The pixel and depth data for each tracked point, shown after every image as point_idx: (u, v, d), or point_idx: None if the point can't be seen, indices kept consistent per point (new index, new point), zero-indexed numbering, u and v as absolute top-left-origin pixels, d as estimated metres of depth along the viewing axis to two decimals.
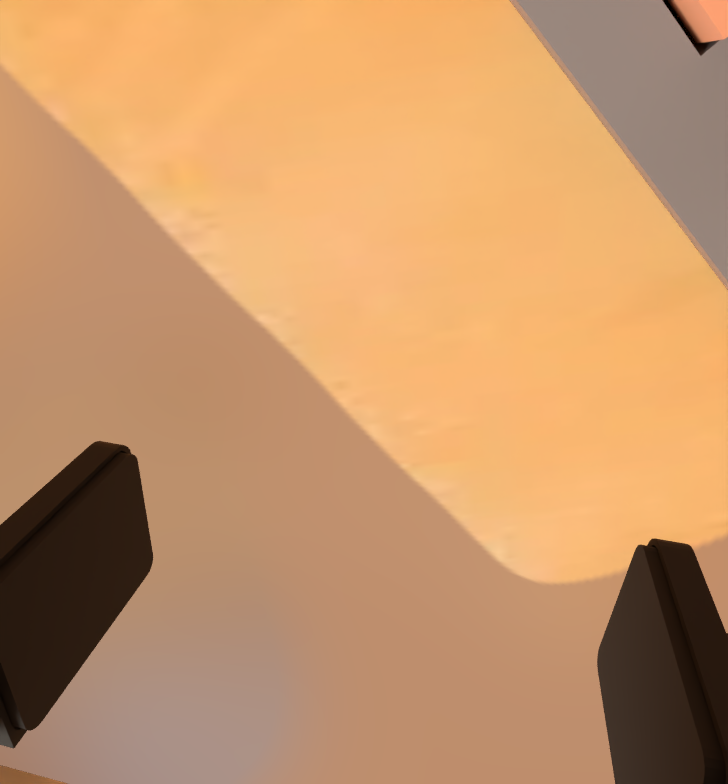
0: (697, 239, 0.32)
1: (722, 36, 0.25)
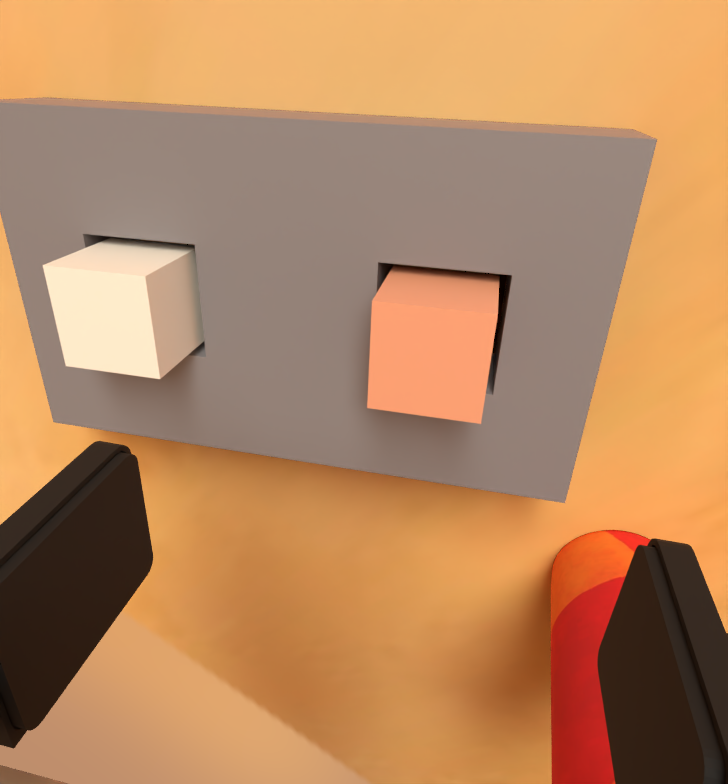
0: (173, 113, 0.21)
1: (376, 300, 0.19)
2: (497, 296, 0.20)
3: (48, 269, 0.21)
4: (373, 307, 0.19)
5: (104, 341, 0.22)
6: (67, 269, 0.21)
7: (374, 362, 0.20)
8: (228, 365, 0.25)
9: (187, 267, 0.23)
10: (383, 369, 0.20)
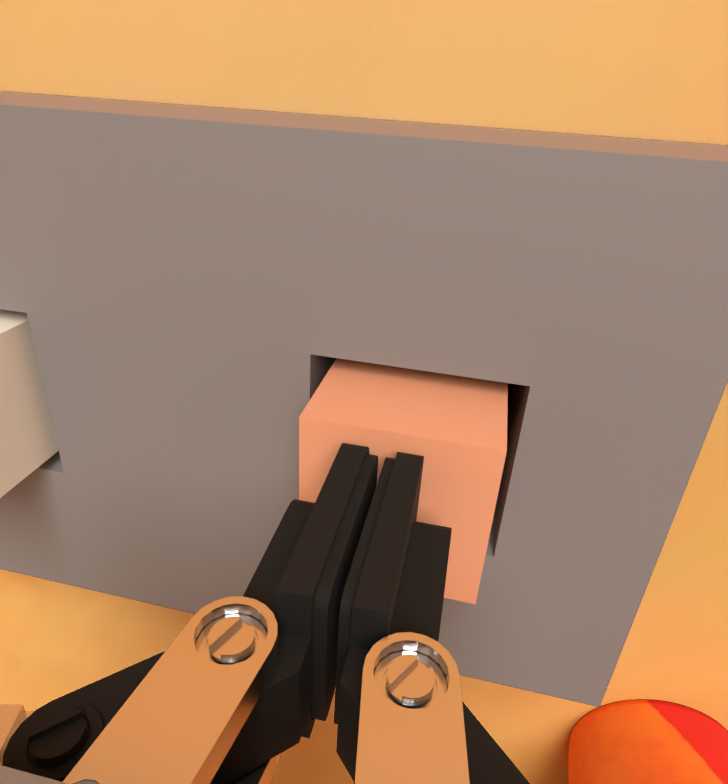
0: None
1: (306, 416, 0.12)
2: (505, 405, 0.12)
3: None
4: (301, 426, 0.12)
5: None
6: None
7: None
8: (96, 486, 0.17)
9: (20, 346, 0.15)
10: None
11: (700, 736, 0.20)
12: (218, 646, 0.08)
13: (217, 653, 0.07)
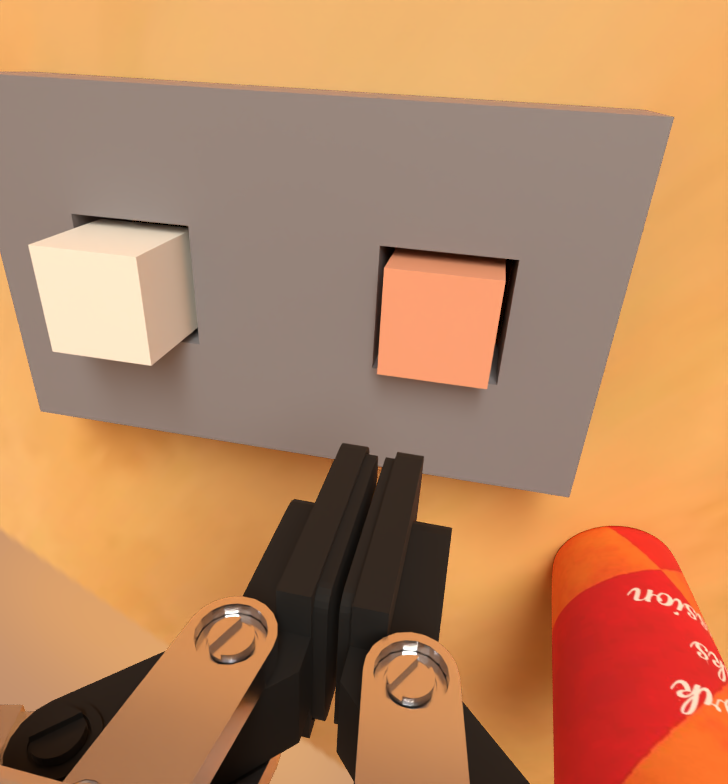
0: (166, 86, 0.20)
1: (388, 268, 0.20)
2: (504, 266, 0.21)
3: (34, 249, 0.20)
4: (385, 274, 0.20)
5: (92, 325, 0.21)
6: (54, 249, 0.20)
7: (385, 328, 0.21)
8: (222, 353, 0.24)
9: (180, 249, 0.22)
10: (393, 335, 0.21)
11: (645, 544, 0.28)
12: (218, 646, 0.08)
13: (217, 653, 0.07)
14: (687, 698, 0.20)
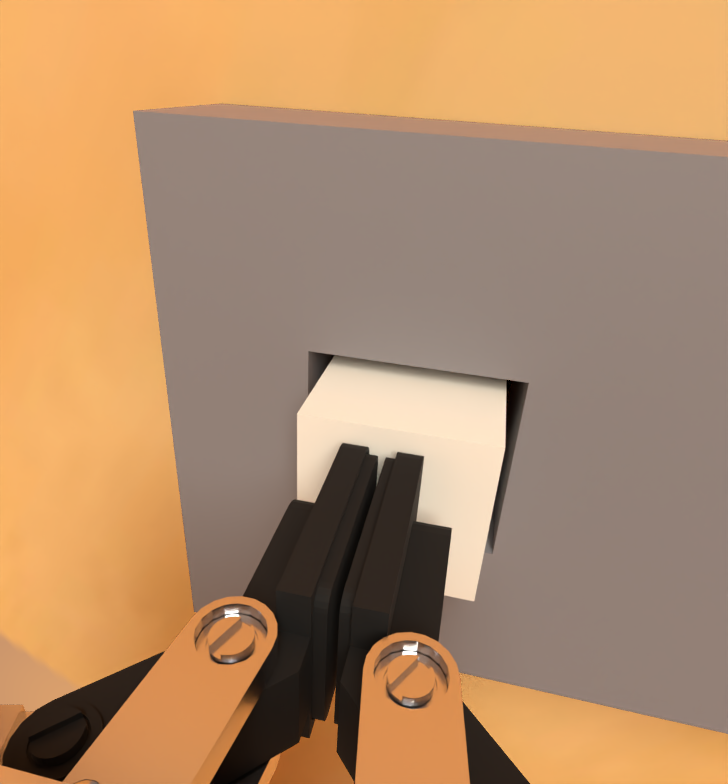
0: (560, 147, 0.10)
1: None
2: None
3: (306, 421, 0.11)
4: None
5: None
6: (346, 424, 0.11)
7: None
8: (531, 569, 0.15)
9: None
10: None
11: None
12: (218, 646, 0.08)
13: (217, 653, 0.07)
14: None
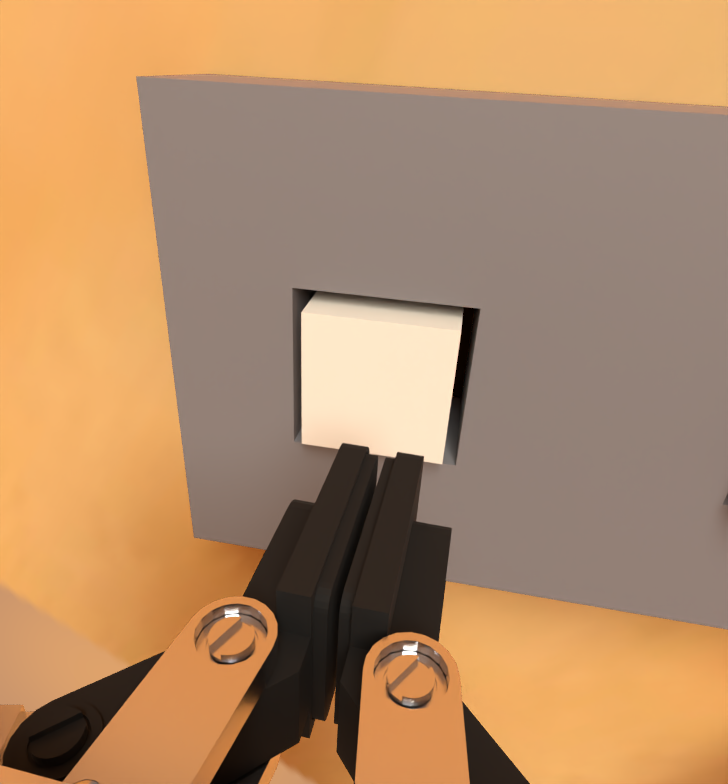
0: (497, 102, 0.12)
1: None
2: None
3: (308, 318, 0.15)
4: None
5: (369, 413, 0.16)
6: (339, 319, 0.15)
7: None
8: (489, 478, 0.17)
9: None
10: None
11: None
12: (218, 646, 0.08)
13: (217, 653, 0.07)
14: None
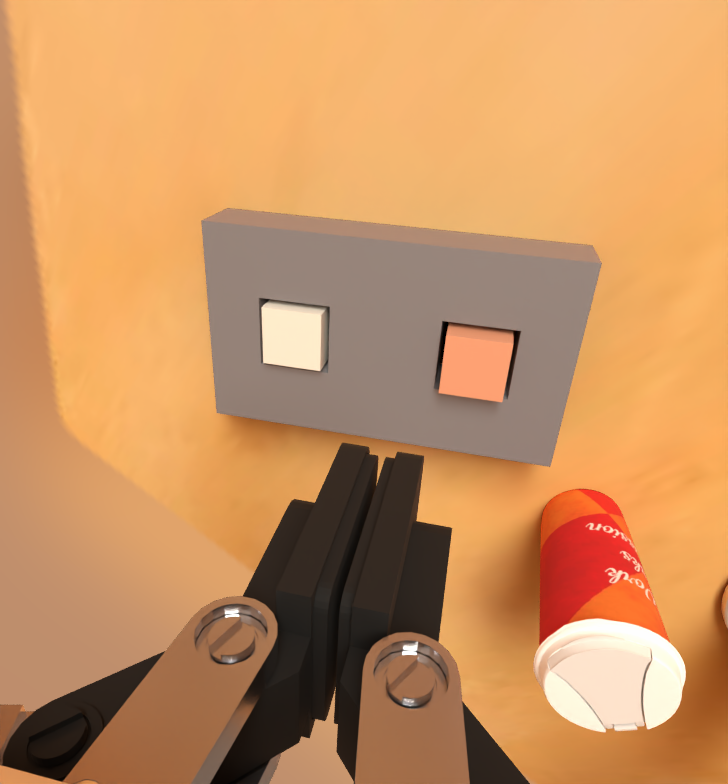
0: (326, 234, 0.35)
1: (448, 335, 0.36)
2: (512, 332, 0.36)
3: (264, 309, 0.38)
4: (446, 338, 0.36)
5: (290, 349, 0.39)
6: (276, 310, 0.38)
7: (444, 367, 0.36)
8: (342, 379, 0.40)
9: None
10: (449, 371, 0.37)
11: (600, 499, 0.43)
12: (218, 646, 0.08)
13: (217, 653, 0.07)
14: (613, 576, 0.36)
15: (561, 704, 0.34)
